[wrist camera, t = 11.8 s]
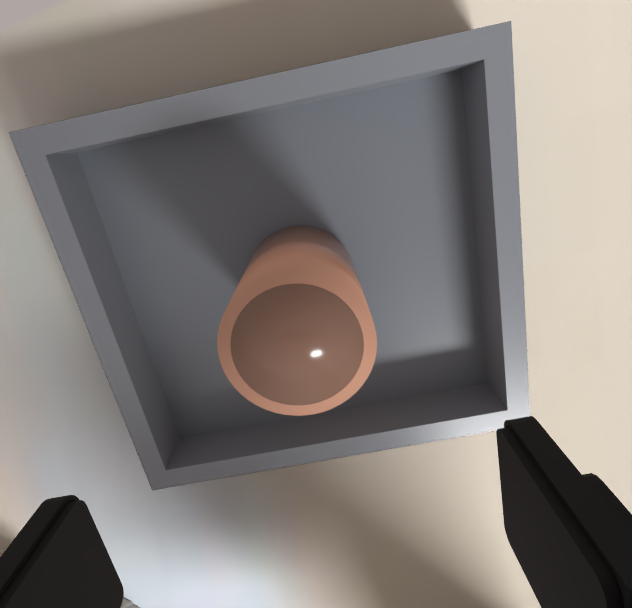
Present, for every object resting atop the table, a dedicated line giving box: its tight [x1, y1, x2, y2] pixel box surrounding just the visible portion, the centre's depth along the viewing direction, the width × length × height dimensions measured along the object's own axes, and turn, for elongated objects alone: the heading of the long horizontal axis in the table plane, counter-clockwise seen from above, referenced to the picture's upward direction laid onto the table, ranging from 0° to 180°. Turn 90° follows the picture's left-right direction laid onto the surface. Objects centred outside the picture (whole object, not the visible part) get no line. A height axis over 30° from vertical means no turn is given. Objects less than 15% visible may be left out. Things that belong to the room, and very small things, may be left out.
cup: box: [217, 225, 377, 416], centre depth 21 cm, size 6×6×9 cm
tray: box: [9, 21, 530, 490], centre depth 25 cm, size 20×22×4 cm
